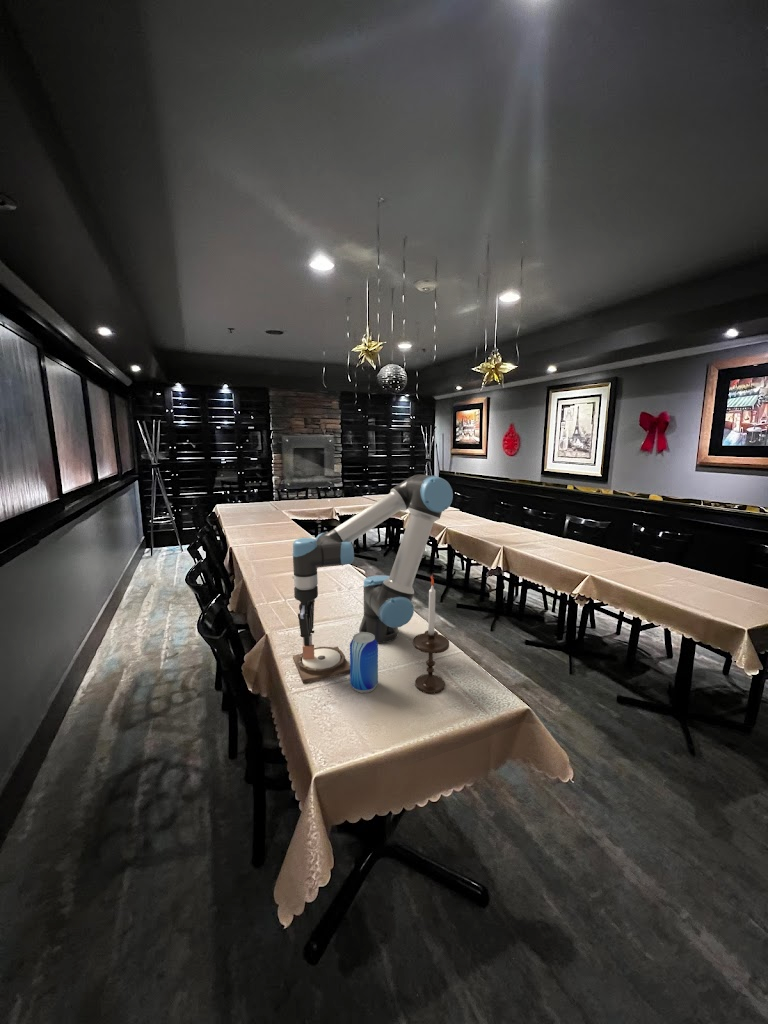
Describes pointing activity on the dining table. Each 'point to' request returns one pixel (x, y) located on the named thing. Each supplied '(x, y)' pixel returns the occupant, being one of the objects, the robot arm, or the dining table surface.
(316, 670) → the dial housing
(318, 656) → the dial
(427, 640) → the candlestick
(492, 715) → the dining table surface
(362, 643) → the beer can
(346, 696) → the dining table surface
